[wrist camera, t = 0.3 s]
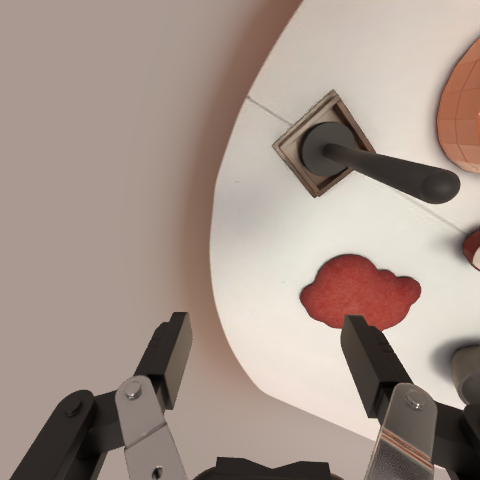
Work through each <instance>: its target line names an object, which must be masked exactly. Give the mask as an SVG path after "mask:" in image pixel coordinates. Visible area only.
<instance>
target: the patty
mask: <svg viewBox="0 0 480 480" xmlns="http://www.w3.org/2000/svg"><path fill="white" fill-rule="evenodd" d="M420 294H421V286H420V284H419V283H418V282H417V281H416V280H414V279H412V278H408V277H401V278H397V277H396V276H395V275H394V274H393V273H392V272H390V271H386V270H383V271H379V270H377V269H376V267H375V265H374V264H373V263H372V262H371V261H369V260H368V259H366V258H364V257H361V256H357V255H344V256H340V257H337V258H334V259H332V260H330V261H329V262H328V263H326V264H325V265H324V266H323V267H322V268H321V270H320V271H319V273H318V275H317V277H316V281H315V283H314V284H312V285H310V286H308V287H306V288H305V289H304V290H303V291H302V293H301V296H300V301H301V303H302V305H303V306H304V307H305V308H306V310H307V313H308V314H309V316H310V317H312V318H313V319H315V320H317V321H321V322H324V323H325V324H326V325H328V326H329V327H332V328H340V329H342V326H343V321H344V316H345V315H346V314H355V315H362V316H363V317H364V319H365V320H366V322H367V324H368V326H375V327H376V328H377V329H379V330H380V331H381V332H382V331H383V330H384V329H387V328H390V327H393V326H395V325H396V324H398V323H399V322H401V321H402V320H403V319H404V318H405V317H406V315H407V313H408V312H409V308H410V307H411V305H412V304H413V303H415V302H416V301H417V299H418V298H419V297H420Z"/></svg>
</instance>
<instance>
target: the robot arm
mask: <svg viewBox="0 0 480 480" xmlns="http://www.w3.org/2000/svg"><path fill="white" fill-rule="evenodd" d="M191 345H192V329H191V322H190V317H189V313H188V312H174V313H173V314H172V317H171V319H170V321H169V322H163V323H162V324H161V325H160V326H159V327H158V328H157V329H156V330H155V332H154V334H153V336H152V339H151V340H150V342H149V345H148V347H147V348H146V350H145V353H144V355H143V357H142V359H141V361H140V363H139V365H138V367H137V369H136V371H135V374H134V375H133V377H131V378H129V379H127V380H126V381H125V382H123V383H122V384H121V386H120V387H119V388H118V389H117V390H115V391H112V392H109V393H105V394H102V395H98V396H93V394H92V392H90V391H88V390H79V391H76V392H73V393H71V394H70V395H68V396H67V397H65V398H64V399H63V400H62V401H61V402H60V403H59V404H58V405H57V407H56V408H55V410H54V411H53V413H52V414H51V416H50V418H49V419H48V421H47V422H46V424H45V425H44V427H43V428H42V430H41V431H40V433H39V435H38V436H37V438H36V439H35V441H34V443H33V444H32V445H31V447H30V448H29V450H28V452H27V453H26V455H25V456H24V458H23V460H22V461H21V463H20V464H19V466H18V467H17V469H16V470H15V472H14V473H13V475H12V477H11V478H10V480H97V478H98V475H99V473H100V470H101V468H102V465H103V463H104V460H105V457H106V455H107V453H108V451H110V450H113V449H116V448H119V447H122V446H125V448H124V453H125V459H126V464H127V468H128V473H129V478H130V480H188V477H187V474H186V472H185V469H184V466H183V464H182V461H181V459H180V456H179V453H178V450H177V448H176V445H175V442H174V440H173V437H172V435H171V432H170V429H169V426H168V424H167V422H166V421H165V418H164V412H165V409H167V410H173V408H174V404H175V401H176V397H177V394H178V391H179V387H180V384H181V380H182V376H183V373H184V370H185V366H186V363H187V359H188V356H189V352H190V349H191ZM341 347H342V351H343V353H344V356H345V358H346V361H347V364H348V366H349V369H350V372H351V374H352V377H353V379H354V382H355V385H356V387H357V390H358V392H359V395H360V398H361V400H362V403H363V406H364V408H365V411H366V413H367V416H368V418H378V421H379V423H380V425H381V427H380V430H379V433H378V436H377V439H376V443H375V446H374V449H373V452H372V456H371V459H370V462H369V465H368V469H367V472H366V475H365V478H364V480H433V478H434V464H436V465H438V466H441V467H443V468H446V470H447V472H448V474H449V476H450V478H451V480H480V404H469V405H467V406H466V407H465V408H464V410H460V409H457V408H454V407H451V406H448V405H444V404H441V403H439V402H436V401H434V400H433V399H432V397H431V396H430V395H429V394H428V393H427V392H426V391H424V390H423V389H422V388H420V387H418V386H416V385H414V383H413V382H412V380H411V378H410V377H409V375H408V374H407V372H406V370H405V369H404V367H403V365H402V364H401V362H400V360H399V359H398V357H397V355H396V354H395V353H394V350H393V349H392V347H391V345H389V342H388V340H387V339H386V337H385V336H384V334H383V333H382V332H381V331H380V330H379V329H377V328H376V327H375V326H368V324H367V322H366V320H365V319H364V317H363V316H362V315H355V314H346V315H345V316H344V321H343V326H342V332H341ZM193 480H344V479H342V478H341V477H339V476H337V475H335V474H332V473H330V469H329V464H328V463H327V462H308V461H299V462H296V463H292V464H289V465H285V466H282V467H278V468H274V469H271V468H268V467H265V466H263V465H260V464H257V463H255V462H252V461H250V460H247V459H244V458H228V457H217V462H216V467H212V468H210V469H208V470H205V471H204V472H202V473H201V474H199V475H198V476H196V477H195V478H194V479H193Z"/></svg>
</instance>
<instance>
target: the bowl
mask: <svg viewBox="0 0 480 480" xmlns="http://www.w3.org/2000/svg"><path fill="white" fill-rule="evenodd" d="M451 372H452V377H453V382H454V385H455V387H456V390H457V392H458V395H459V397H460V399H461V400H462V401H463V402H464V403H465V404H466V405H469V404H480V346H468V347H464V348H461V349H459V350H458V351H456V352H455V354H454V355H453V359H452V363H451Z"/></svg>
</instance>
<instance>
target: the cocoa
mask: <svg viewBox="0 0 480 480" xmlns="http://www.w3.org/2000/svg"><path fill="white" fill-rule="evenodd" d="M463 254H464V255H465V257H466V258H467V260H468V261H469V263H470V264H471V265H472V266H473V267H474V268H475V269H477V270H478V271H480V230H479V231H476V232H474V233H473V234H471V235H470V236H469V237H467V239H466V241H465V242H464V244H463Z"/></svg>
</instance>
